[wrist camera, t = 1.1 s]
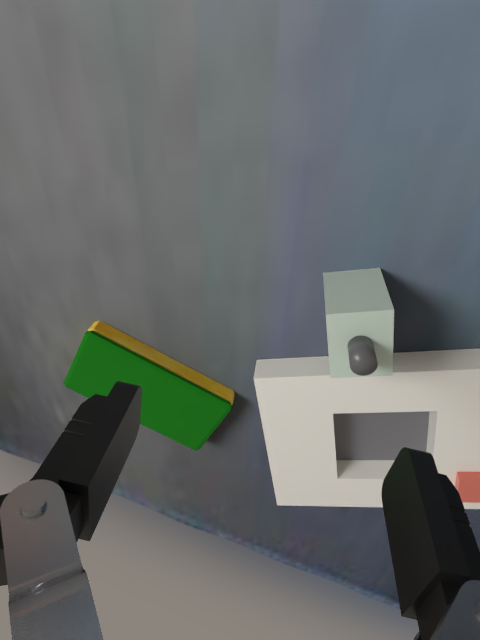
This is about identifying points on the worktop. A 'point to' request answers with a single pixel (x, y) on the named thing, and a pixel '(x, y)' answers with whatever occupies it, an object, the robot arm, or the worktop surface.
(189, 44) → the worktop surface
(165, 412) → the dish sponge
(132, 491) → the worktop surface
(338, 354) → the plug
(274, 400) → the socket plate
